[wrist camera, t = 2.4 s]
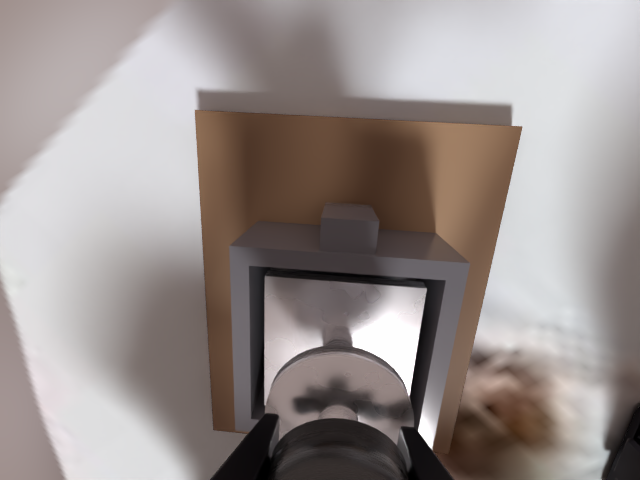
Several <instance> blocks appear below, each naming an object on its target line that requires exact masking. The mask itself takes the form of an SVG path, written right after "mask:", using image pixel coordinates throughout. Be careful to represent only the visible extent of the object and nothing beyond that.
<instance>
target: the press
mask: <svg viewBox="0 0 640 480" xmlns="http://www.w3.org/2000/svg"><path fill="white" fill-rule="evenodd" d="M229 255H230V285H231V316H232V347H233V377H234V408H235V430H236V431H246V432H250V431H251V430H252V428H253V427H254V426H255V425H256V424H257V422H258V421H259V420H260V419H261V417H262V416H263V415H264V414H265V406H266V405H264V325H265V275H266V273H267V271H268V270H273V271H287V272H300V273H313V274H326V275H340V276H353V277H366V278H380V279H393V280H406V281H420V282H423V283H424V284H425V286H426V288H427V291H426V297H425V303H424V309H423V315H422V321H421V327H420V333H419V339H418V345H417V351H416V357H415V363H414V369H413V376H412V382H411V388H410V394H409V397H410V401H411V405H412V409H413V413H414V428H416V429H417V430H418V432H419V433H420V434H421V436H422V437H423V438H424V440H425V441H426V443H427V444H428V445H429V447H430V448H431V449H432V447H433V442H434V437H435V433H436V428H437V423H438V418H439V413H440V408H441V403H442V398H443V394H444V389H445V384H446V379H447V374H448V369H449V364H450V359H451V355H452V350H453V345H454V340H455V335H456V330H457V325H458V320H459V316H460V311H461V306H462V301H463V296H464V291H465V286H466V281H467V277H468V272H469V267H470V263H469V262H468V261H467V260H466V259H465V258H464V257H463V256H462V255H460V254H459V253H458V252H457V251H456V250H455V249H454V248H453V247H451V246H450V245H449V244H448V243H447V242H446V241H445V240H444V239H442V238H441V237H440V236H439V235H438V234H437V233H431V232H417V231H402V230H387V229H379V220H378V218H377V216H376V214H375V212H374V210H373V208H372V207H371V205H360V204H344V203H329V202H326V203H325V206H324V210H323V213H322V216H321V225H313V224H298V223H283V222H268V221H257V222H256V223H255V224H254V225H253V226H252V227H250V228H249V229H248V230H247V231H246V232H245V233H244V234H242V235H241V236H240V237H239V238H238V239H237V240H235V241H234V242H233V243H232V244H231V245H230V246H229Z"/></svg>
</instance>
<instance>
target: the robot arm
mask: <svg viewBox="0 0 640 480" xmlns="http://www.w3.org/2000/svg"><path fill="white" fill-rule="evenodd" d="M279 420H280V417H279V415H278V414H274V413H265V414H264V415H263V416H262V417H261V419H260V420H259V421H258V422H257V424H256V425H255V426H254V427H253V428H252V430H251V431H250V432H249V433H248V434H247V436H246V437H245V438H244V439H243V440H242V442H241V443H240V444H239V445H238V447H237V448H236V449H235V450H234V451H233V453H232V454H231V455H230V456H229V457H228V459H227V460H226V461H225V462H224V464H223V465H222V466H221V467H220V468H219V470H218V471H217V472H216V473H215V474H214V476H213V477H212V478H211V479H210V480H266V477H267V473H268V468H269V464H270V460H271V456H272V452H273V450H274V448H275V446H276V445H277V443H278V442H279ZM397 446H398V448H399V449H400V451H401V452H402V454H403V457H404V459H405V462H406V466H407V471H408V475H409V480H454V479H453V478H452V476H451V475H450V473H449V472H448V471H447V469H446V468H445V467H444V465H443V464H442V463H441V461H440V460H439V459H438V457H437V456H436V455H435V453H434V452H433V451H432V449H431V448H430V447H429V445H428V444H427V443H426V441H425V440H424V438H423V437H422V436H421V434H420V433H419V432H418V430H417V429H416V428H414V427H408V426H401V427H400V429H399V435H398V442H397ZM606 480H640V407H638V408H637V410H636V411H635V414H634V416H633V418H632V421H631V423H630V425H629V428H628V430H627V432H626V435H625V437H624V439H623V442H622V444H621V446H620V449H619V451H618V453H617V456H616V458H615V460H614V462H613V465H612V467H611V469H610V472H609V474H608V476H607V479H606Z"/></svg>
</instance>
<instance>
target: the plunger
mask: <svg viewBox="0 0 640 480" xmlns="http://www.w3.org/2000/svg"><path fill="white" fill-rule="evenodd" d="M426 291H427V288H426V286H425V284H424V283H423V282H420V281H406V280H393V279H380V278H366V277H353V276H340V275H326V274H313V273H300V272H287V271H273V270H268V271H267V273H266V275H265V325H264V405H266V406H265V413H274V414H278V415H279V417H280V420H279V442H278V443H277V445H276V446H275V448H274V450H273V452H272V456H271V460H270V464H269V468H268V473H267V477H266V480H409V475H408V471H407V466H406V462H405V459H404V457H403V454H402V452H401V451H400V449H399V448H398V446H397V442H398V435H399V429H400V427H401V426H408V427H414V413H413V409H412V405H411V401H410V397H409V394H410V388H411V382H412V376H413V369H414V363H415V357H416V351H417V345H418V339H419V333H420V327H421V321H422V315H423V309H424V303H425V297H426Z"/></svg>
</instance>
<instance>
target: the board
mask: <svg viewBox="0 0 640 480" xmlns="http://www.w3.org/2000/svg"><path fill="white" fill-rule="evenodd" d="M195 121H196V139H197V156H198V173H199V190H200V207H201V224H202V242H203V259H204V276H205V293H206V310H207V327H208V345H209V362H210V379H211V396H212V413H213V430H217V431H227V432H237V433H247V434H248V433H249V432H246V431H236V430H235V408H234V377H233V347H232V316H231V285H230V255H229V246H230V245H231V244H232V243H233V242H234V241H235V240H237V239H238V238H239V237H240V236H241V235H242V234H244V233H245V232H246V231H247V230H248V229H249V228H250V227H252V226H253V225H254V224H255V223H256V222H257V221H268V222H283V223H298V224H313V225H321V216H322V213H323V210H324V206H325V203H326V202H329V203H344V204H360V205H371V207H372V208H373V210H374V212H375V214H376V216H377V218H378V220H379V229H387V230H402V231H417V232H431V233H437V234H438V235H439V236H440V237H441V238H442V239H444V240H445V241H446V242H447V243H448V244H449V245H450V246H451V247H453V248H454V249H455V250H456V251H457V252H458V253H459V254H460V255H462V256H463V257H464V258H465V259H466V260H467V261H468V262H469V263H470V267H469V272H468V277H467V281H466V286H465V291H464V296H463V301H462V306H461V311H460V316H459V320H458V325H457V330H456V335H455V340H454V345H453V350H452V355H451V359H450V364H449V369H448V374H447V379H446V384H445V389H444V394H443V398H442V403H441V408H440V413H439V418H438V423H437V428H436V433H435V437H434V442H433V447H432V451H433V452H434V453H444V454H449V449H450V445H451V441H452V436H453V432H454V427H455V423H456V418H457V414H458V410H459V405H460V401H461V396H462V392H463V388H464V383H465V379H466V374H467V370H468V365H469V361H470V357H471V352H472V348H473V343H474V339H475V334H476V330H477V326H478V321H479V317H480V312H481V308H482V304H483V299H484V295H485V290H486V286H487V281H488V277H489V273H490V268H491V264H492V259H493V255H494V250H495V246H496V242H497V237H498V233H499V228H500V224H501V219H502V215H503V211H504V206H505V202H506V197H507V193H508V189H509V184H510V180H511V175H512V171H513V166H514V162H515V158H516V153H517V149H518V144H519V140H520V135H521V131H522V127H521V126H501V125H481V124H461V123H441V122H421V121H402V120H382V119H362V118H342V117H322V116H302V115H283V114H263V113H243V112H223V111H203V110H195Z"/></svg>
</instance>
